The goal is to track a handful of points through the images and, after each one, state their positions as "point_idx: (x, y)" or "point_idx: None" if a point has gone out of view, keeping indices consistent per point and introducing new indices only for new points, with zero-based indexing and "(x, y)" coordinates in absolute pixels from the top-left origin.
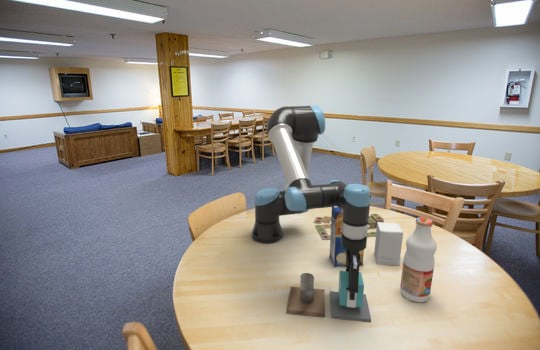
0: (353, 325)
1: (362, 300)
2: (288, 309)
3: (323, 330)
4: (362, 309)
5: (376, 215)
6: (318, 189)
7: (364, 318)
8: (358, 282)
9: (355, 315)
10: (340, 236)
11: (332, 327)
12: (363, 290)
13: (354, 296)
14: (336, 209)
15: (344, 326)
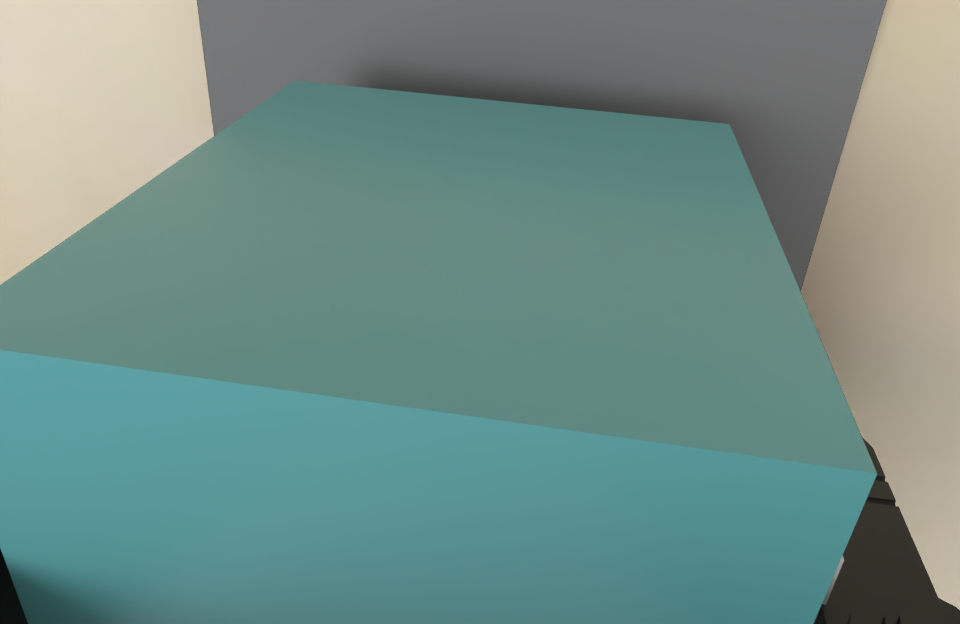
0: (910, 242)
1: (755, 192)
2: None
3: (931, 573)
4: (622, 57)
5: None
6: None
7: (857, 71)
8: (651, 596)
9: (770, 208)
10: None
11: (900, 487)
12: (811, 334)
13: (897, 514)
14: None
15: (908, 359)
